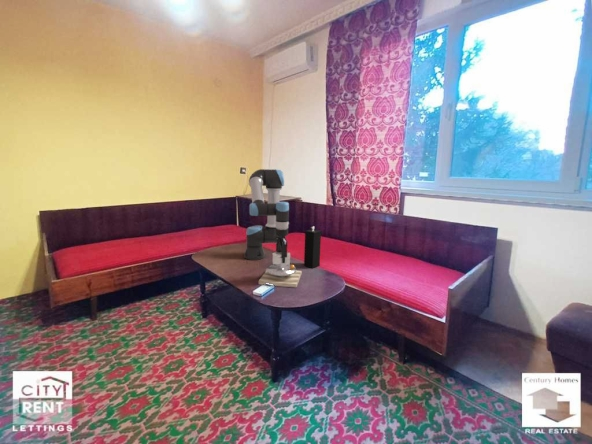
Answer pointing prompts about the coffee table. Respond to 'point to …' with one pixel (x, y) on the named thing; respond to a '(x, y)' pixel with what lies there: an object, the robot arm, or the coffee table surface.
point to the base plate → (281, 279)
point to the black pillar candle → (312, 248)
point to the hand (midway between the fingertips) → (281, 265)
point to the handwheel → (276, 266)
